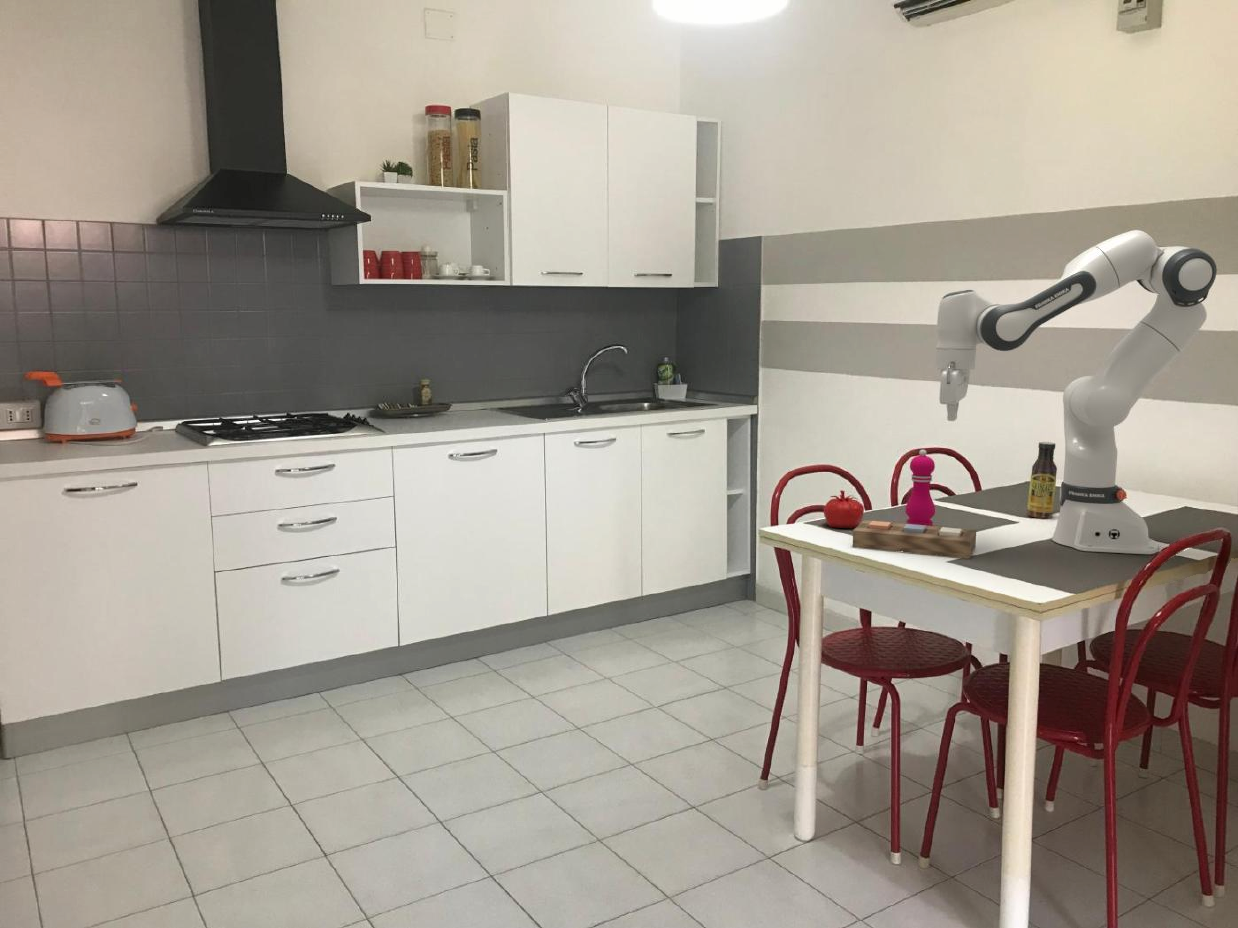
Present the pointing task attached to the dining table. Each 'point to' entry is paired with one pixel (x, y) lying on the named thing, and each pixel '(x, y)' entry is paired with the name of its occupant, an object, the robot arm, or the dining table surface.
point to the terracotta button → (880, 525)
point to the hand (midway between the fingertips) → (951, 420)
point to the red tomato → (843, 512)
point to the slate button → (914, 528)
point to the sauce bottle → (1042, 483)
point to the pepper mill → (921, 491)
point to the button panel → (915, 540)
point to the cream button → (950, 532)
